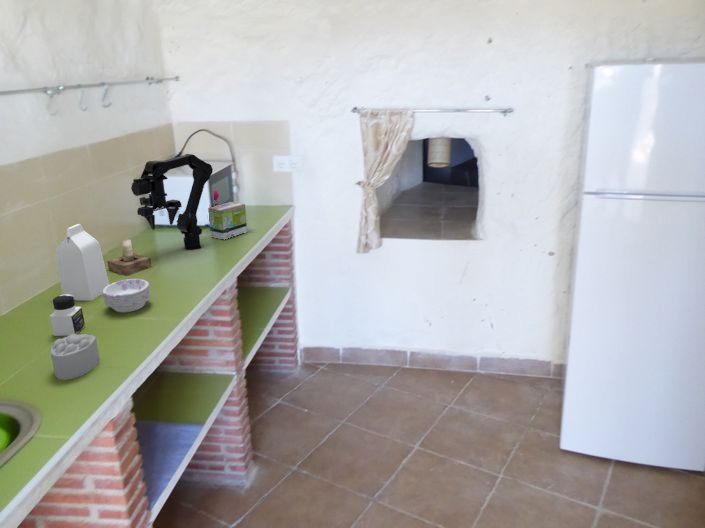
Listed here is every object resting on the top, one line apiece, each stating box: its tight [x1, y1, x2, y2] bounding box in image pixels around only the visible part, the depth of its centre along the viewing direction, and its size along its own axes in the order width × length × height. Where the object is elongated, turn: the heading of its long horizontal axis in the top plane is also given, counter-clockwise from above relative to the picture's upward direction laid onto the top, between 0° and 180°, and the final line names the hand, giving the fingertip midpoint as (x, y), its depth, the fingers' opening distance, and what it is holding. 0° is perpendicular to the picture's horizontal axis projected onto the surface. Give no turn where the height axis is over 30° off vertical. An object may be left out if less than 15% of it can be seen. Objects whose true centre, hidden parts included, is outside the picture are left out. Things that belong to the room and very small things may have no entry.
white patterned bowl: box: [102, 278, 152, 313], centre depth 208 cm, size 15×15×8 cm
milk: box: [55, 223, 110, 302], centre depth 219 cm, size 12×12×26 cm
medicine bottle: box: [49, 294, 86, 337], centre depth 191 cm, size 7×7×12 cm
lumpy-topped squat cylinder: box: [50, 333, 101, 381], centre depth 168 cm, size 10×13×9 cm
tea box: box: [207, 201, 248, 241], centre depth 287 cm, size 15×10×15 cm
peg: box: [120, 239, 134, 263], centre depth 246 cm, size 4×4×12 cm
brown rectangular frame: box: [107, 252, 152, 276], centre depth 248 cm, size 12×12×4 cm
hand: (162, 227), depth 258 cm, fingers open, 9 cm apart
